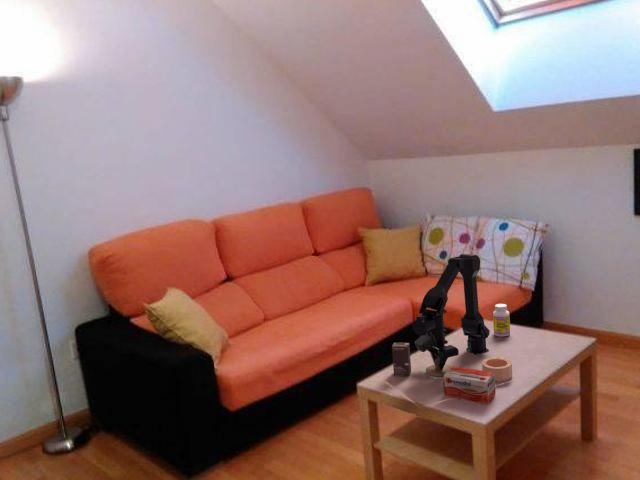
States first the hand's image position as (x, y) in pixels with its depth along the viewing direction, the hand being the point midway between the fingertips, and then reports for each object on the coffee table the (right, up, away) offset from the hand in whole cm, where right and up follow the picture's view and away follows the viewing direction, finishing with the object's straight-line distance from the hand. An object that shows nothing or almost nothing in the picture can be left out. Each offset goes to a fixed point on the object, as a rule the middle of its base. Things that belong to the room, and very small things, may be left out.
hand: (439, 367), depth 217 cm
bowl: (+19, -1, -8) cm, 21 cm away
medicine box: (+6, -5, -20) cm, 22 cm away
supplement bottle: (+33, +7, +33) cm, 47 cm away
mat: (0, -2, 0) cm, 2 cm away
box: (-13, -3, +2) cm, 14 cm away
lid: (0, -1, 0) cm, 1 cm away
